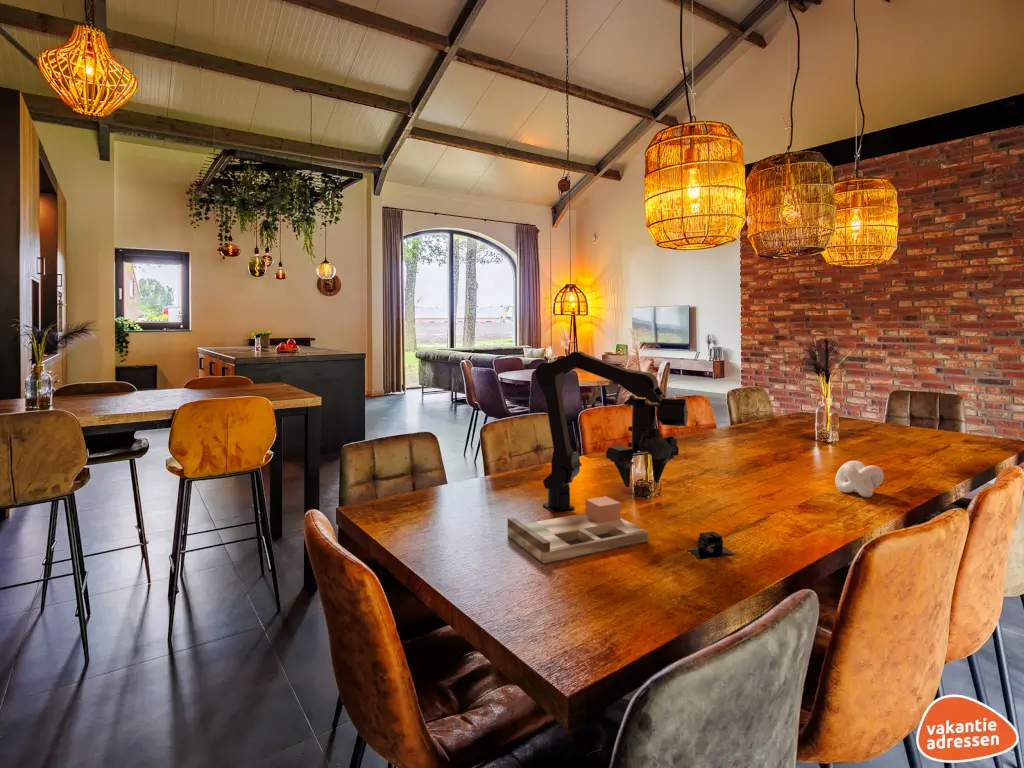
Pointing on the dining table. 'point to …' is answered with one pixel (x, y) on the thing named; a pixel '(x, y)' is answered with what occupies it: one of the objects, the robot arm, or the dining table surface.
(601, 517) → the terracotta block
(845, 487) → the white knot sculpture
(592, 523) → the trap board
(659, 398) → the robot arm
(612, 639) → the dining table surface
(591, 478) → the dining table surface
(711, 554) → the black boxy piece
